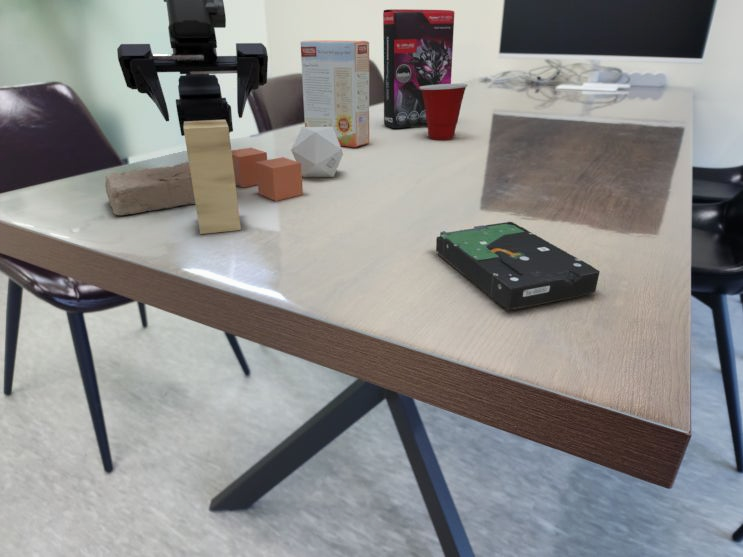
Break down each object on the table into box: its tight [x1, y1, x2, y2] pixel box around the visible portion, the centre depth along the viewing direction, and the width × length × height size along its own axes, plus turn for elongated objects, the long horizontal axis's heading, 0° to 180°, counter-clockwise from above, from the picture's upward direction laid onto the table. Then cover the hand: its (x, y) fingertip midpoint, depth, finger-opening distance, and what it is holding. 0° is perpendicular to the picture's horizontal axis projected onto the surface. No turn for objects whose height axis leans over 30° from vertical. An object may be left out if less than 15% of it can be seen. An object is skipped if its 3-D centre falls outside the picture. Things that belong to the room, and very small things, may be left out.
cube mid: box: [255, 156, 304, 202], centre depth 78 cm, size 5×5×5 cm
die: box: [290, 126, 344, 178], centre depth 87 cm, size 8×9×10 cm
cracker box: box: [300, 39, 370, 148], centre depth 109 cm, size 14×6×21 cm, turn 58°
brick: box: [104, 161, 196, 216], centre depth 75 cm, size 17×8×5 cm, turn 123°
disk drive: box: [435, 221, 601, 310], centre depth 53 cm, size 10×3×15 cm
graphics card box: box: [382, 8, 456, 129], centre depth 128 cm, size 17×7×27 cm, turn 115°
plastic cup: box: [420, 83, 468, 141], centre depth 117 cm, size 11×11×12 cm
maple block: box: [184, 120, 242, 235], centre depth 63 cm, size 5×5×13 cm
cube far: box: [231, 147, 268, 189], centre depth 84 cm, size 5×5×5 cm
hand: (204, 117), depth 66 cm, fingers open, 9 cm apart
